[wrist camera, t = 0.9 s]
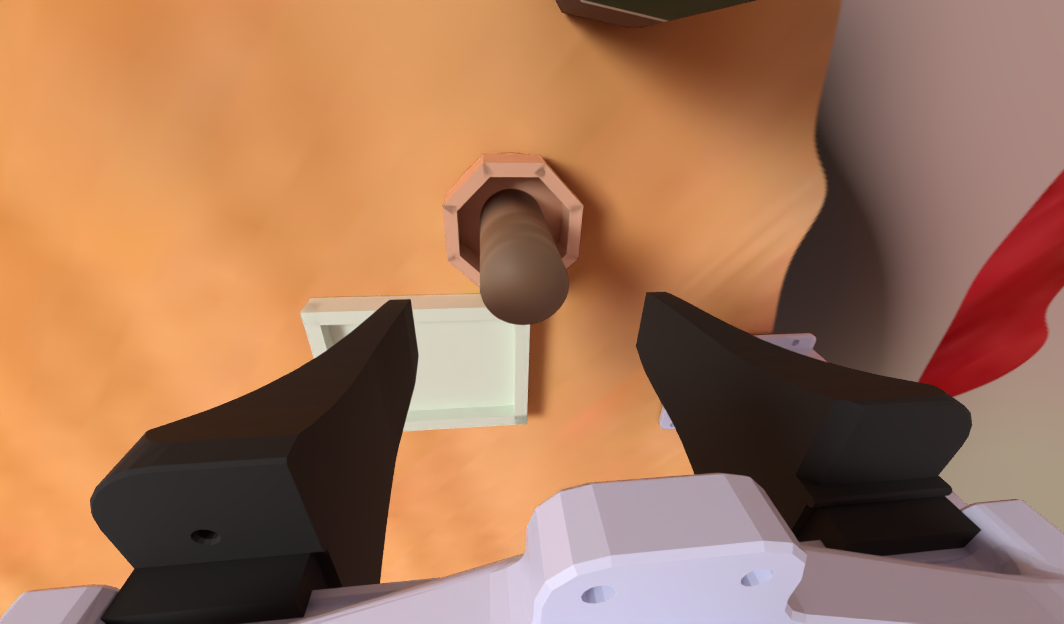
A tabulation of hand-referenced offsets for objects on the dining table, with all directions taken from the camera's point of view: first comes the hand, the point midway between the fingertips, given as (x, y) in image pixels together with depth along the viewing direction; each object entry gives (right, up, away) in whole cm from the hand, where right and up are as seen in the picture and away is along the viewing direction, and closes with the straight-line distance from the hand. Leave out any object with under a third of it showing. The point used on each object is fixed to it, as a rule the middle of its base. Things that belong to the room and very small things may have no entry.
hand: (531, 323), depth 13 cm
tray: (-6, -3, +13) cm, 15 cm away
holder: (-1, +5, +9) cm, 10 cm away
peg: (-1, +5, +8) cm, 10 cm away
